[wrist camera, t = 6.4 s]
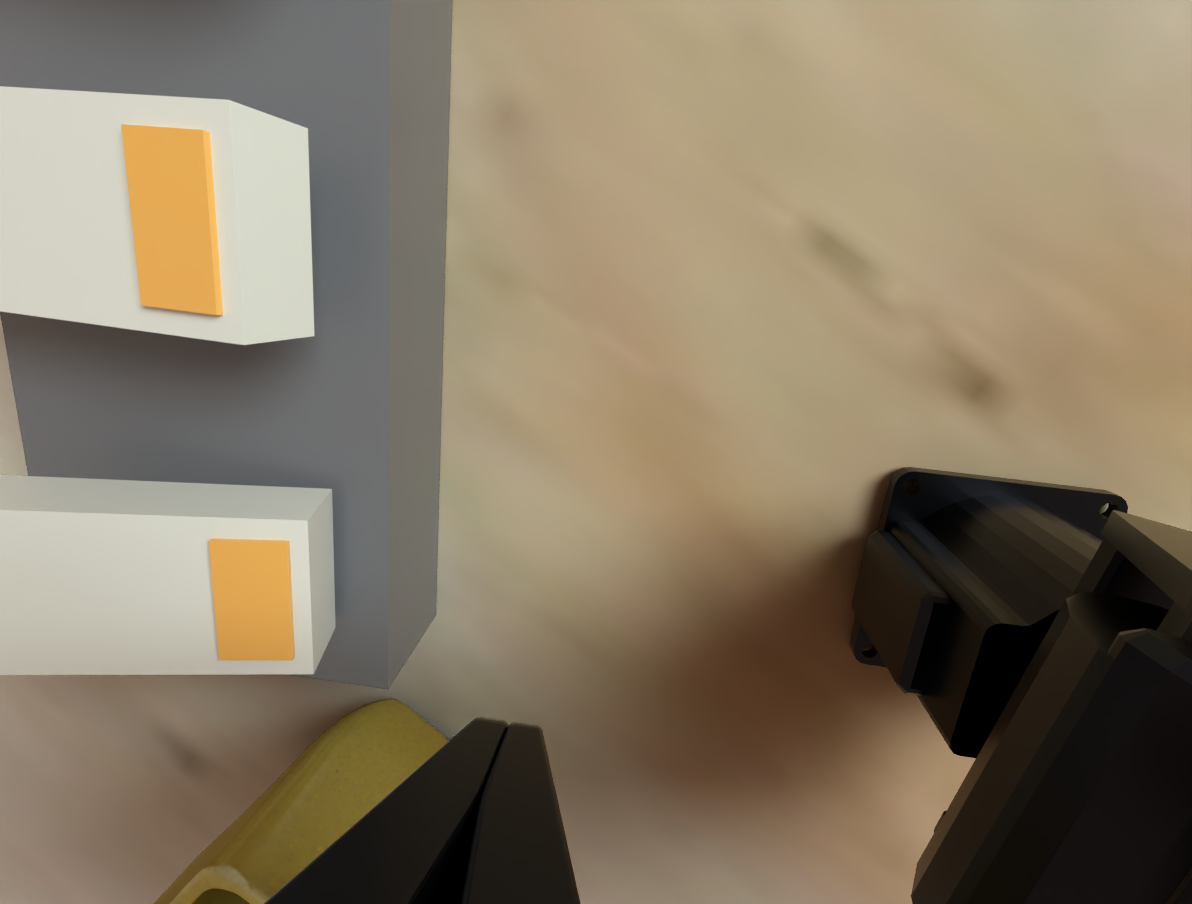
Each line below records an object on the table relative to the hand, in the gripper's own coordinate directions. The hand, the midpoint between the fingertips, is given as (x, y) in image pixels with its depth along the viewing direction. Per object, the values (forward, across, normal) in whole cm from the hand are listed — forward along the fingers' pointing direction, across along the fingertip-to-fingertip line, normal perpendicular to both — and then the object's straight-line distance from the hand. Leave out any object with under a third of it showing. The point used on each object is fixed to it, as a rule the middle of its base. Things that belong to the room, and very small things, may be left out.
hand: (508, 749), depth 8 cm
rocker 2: (+6, +10, +2) cm, 12 cm away
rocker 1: (+6, +10, -6) cm, 13 cm away
